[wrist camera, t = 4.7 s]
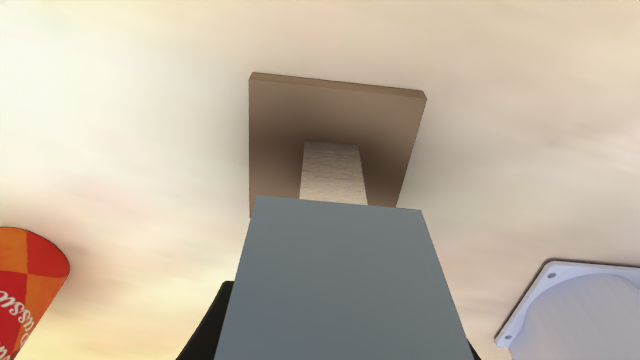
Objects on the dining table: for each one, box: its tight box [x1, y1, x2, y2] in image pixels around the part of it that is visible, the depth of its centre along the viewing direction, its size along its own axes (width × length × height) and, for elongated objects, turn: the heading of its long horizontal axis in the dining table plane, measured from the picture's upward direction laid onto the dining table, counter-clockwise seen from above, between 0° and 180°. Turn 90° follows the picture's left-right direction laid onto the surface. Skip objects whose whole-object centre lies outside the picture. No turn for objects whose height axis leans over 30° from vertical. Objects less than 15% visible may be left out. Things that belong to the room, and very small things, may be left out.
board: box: [249, 72, 427, 218], centre depth 18 cm, size 8×8×1 cm
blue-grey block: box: [214, 195, 474, 360], centre depth 10 cm, size 5×5×7 cm
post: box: [299, 140, 368, 205], centre depth 16 cm, size 3×3×5 cm
